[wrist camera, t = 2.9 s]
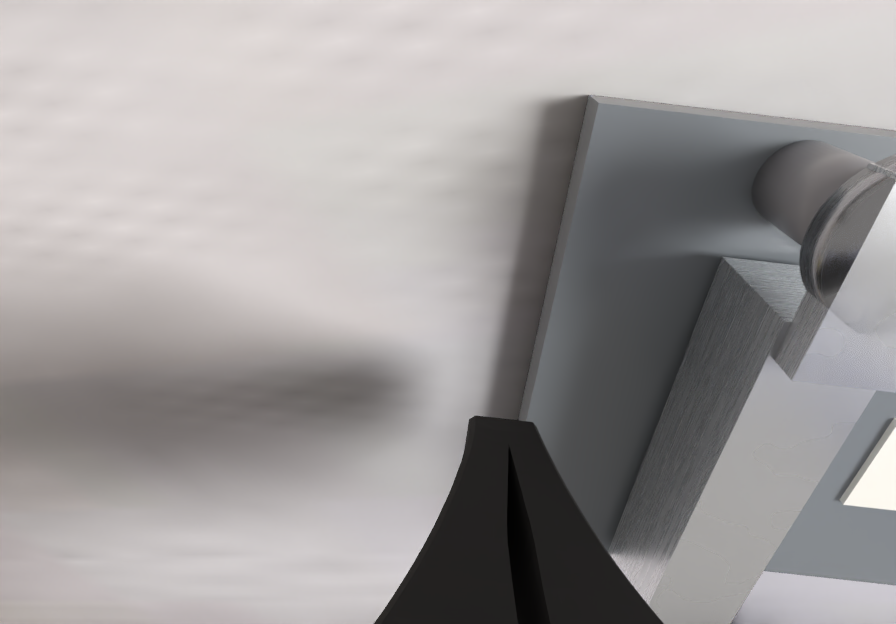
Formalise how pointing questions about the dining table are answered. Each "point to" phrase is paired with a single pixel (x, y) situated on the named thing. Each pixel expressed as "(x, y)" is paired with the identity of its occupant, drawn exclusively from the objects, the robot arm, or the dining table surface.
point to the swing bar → (763, 406)
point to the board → (692, 306)
